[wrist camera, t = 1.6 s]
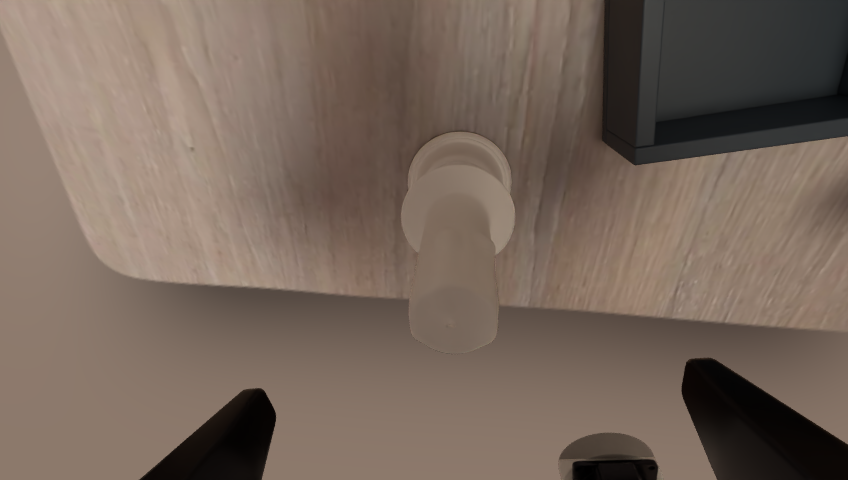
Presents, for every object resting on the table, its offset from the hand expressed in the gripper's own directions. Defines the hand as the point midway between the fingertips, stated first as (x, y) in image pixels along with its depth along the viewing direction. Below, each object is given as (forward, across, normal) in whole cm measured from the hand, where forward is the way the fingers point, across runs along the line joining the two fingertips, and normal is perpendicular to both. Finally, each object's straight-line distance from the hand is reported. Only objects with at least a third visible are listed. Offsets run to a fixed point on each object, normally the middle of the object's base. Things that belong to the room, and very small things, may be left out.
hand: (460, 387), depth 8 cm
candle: (+14, 0, 0) cm, 14 cm away
